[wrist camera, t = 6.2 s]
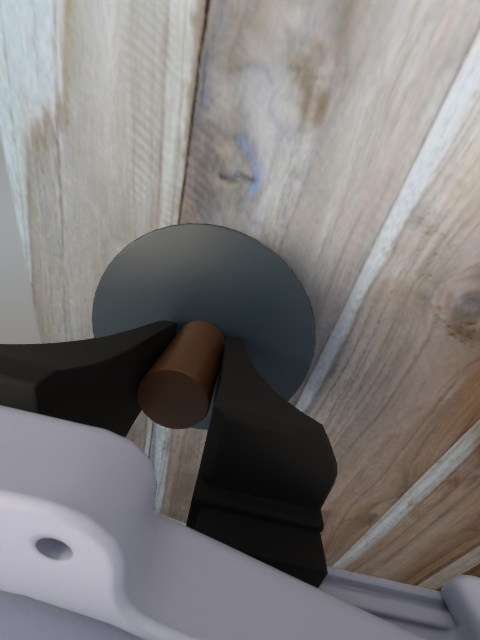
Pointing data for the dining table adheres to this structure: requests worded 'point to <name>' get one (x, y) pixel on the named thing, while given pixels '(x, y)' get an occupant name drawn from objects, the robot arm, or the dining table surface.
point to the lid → (206, 315)
